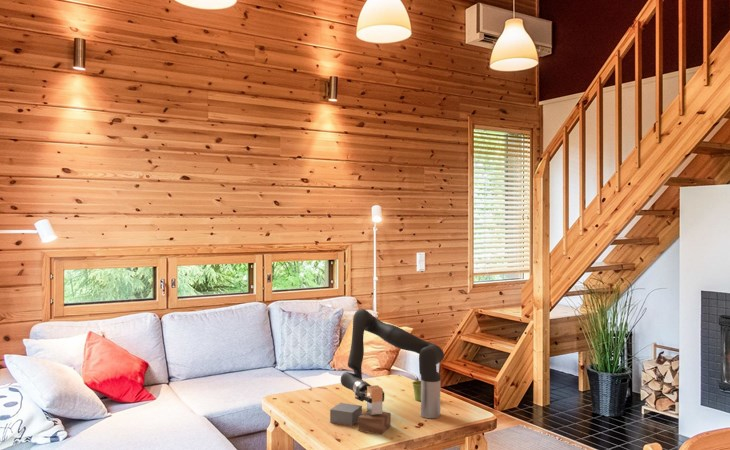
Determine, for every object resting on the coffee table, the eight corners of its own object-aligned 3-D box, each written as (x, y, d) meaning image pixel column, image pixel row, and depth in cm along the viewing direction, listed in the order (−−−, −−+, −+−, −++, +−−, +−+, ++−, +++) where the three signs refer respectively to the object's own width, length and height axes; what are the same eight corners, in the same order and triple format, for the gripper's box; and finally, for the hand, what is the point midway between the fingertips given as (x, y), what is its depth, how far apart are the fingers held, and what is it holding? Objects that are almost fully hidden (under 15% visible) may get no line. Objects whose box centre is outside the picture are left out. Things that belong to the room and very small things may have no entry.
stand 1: (340, 415, 283) (340, 402, 283) (361, 418, 278) (361, 405, 278) (330, 422, 273) (330, 409, 273) (351, 425, 268) (351, 412, 268)
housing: (377, 409, 269) (377, 385, 269) (382, 413, 264) (382, 388, 263) (366, 410, 267) (367, 386, 267) (371, 414, 262) (372, 389, 262)
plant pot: (420, 395, 315) (420, 379, 315) (433, 399, 308) (434, 383, 308) (408, 399, 308) (408, 382, 308) (422, 403, 302) (422, 386, 301)
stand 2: (368, 422, 273) (368, 409, 273) (390, 426, 268) (390, 412, 268) (358, 430, 263) (358, 416, 263) (381, 434, 258) (381, 420, 258)
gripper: (348, 383, 276) (361, 393, 260) (377, 380, 281) (391, 390, 265) (348, 399, 276) (361, 410, 260) (377, 396, 281) (391, 407, 266)
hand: (376, 400), depth 263 cm, fingers closed on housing, 5 cm apart
